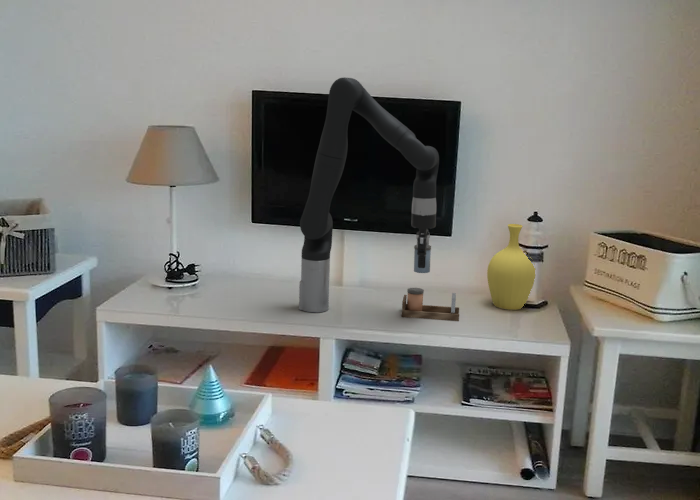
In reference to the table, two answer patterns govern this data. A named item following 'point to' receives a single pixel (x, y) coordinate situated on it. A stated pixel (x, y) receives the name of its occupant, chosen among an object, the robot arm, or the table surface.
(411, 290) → the jar
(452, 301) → the paddle
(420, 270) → the jar
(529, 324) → the table surface
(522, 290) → the vase
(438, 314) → the wooden tray
